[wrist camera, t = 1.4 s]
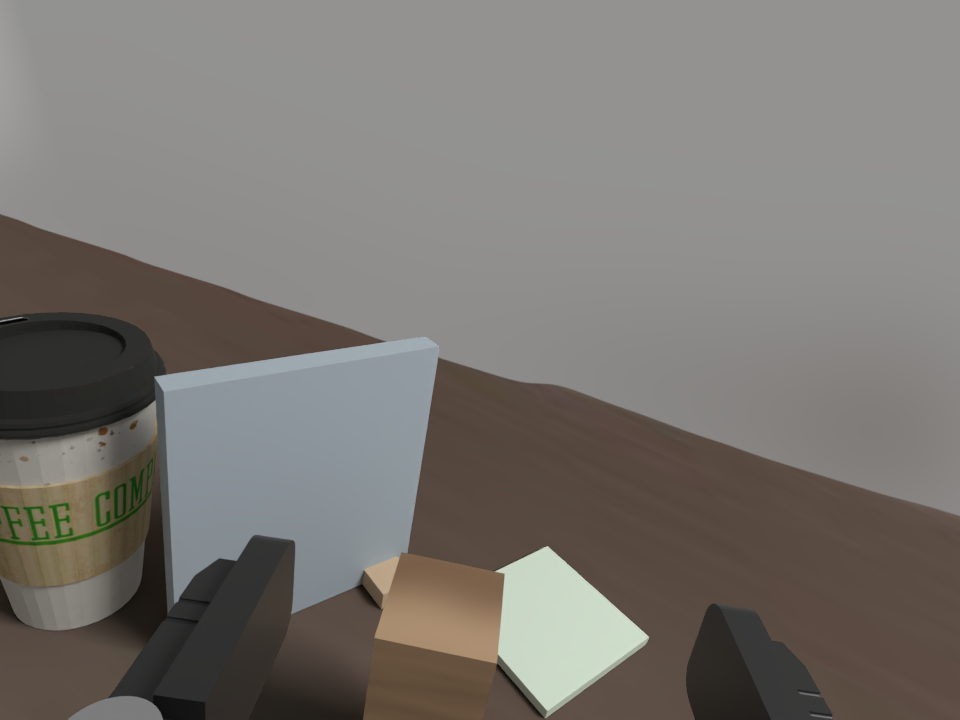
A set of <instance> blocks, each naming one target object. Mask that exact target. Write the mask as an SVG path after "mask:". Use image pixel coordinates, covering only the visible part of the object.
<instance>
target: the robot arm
mask: <svg viewBox="0 0 960 720" xmlns="http://www.w3.org/2000/svg"><path fill="white" fill-rule="evenodd" d="M294 567H295V542H294V540H289V539H282V538H275V537H268V536H262V535H254V536H253V537H252V538H251V539H250V540H249V542H248V544H247V545H246V547H245V548H244V550H243V552H242V553H241V555H240V556H239V558H238V560H237V561H235V560H228V559H221V558H219V559H217V560H216V561H214V562H213V563H212V564H210V565H209V566H207V567H206V568H205V569H203V570H202V571H200V572H199V573H197V574H196V575H195V576H194V577H193V579H192V580H191V581H190V583H189V584H188V586H187V587H186V589H185V590H184V591H183V593H182V594H181V596H180V597H179V601H178V602H176V603H175V604H174V606H173V607H172V608H171V610H170V611H169V613H168V614H167V616H166V619H165V621H162V623H161V624H160V626H159V627H158V628H157V630H156V631H155V633H154V634H153V636H152V637H151V638H150V640H149V641H148V643H147V644H146V646H145V647H144V648H143V650H142V651H141V653H140V654H139V656H138V657H137V658H136V660H135V661H134V663H133V664H132V666H131V667H130V668H129V670H128V671H127V673H126V674H125V676H124V677H123V678H122V680H121V681H120V683H119V684H118V686H117V687H116V688H115V690H114V691H113V692H112V694H111V695H110V696H109V697H108V699H105V700H101V701H98V702H96V703H94V704H91V705H89V706H87V707H86V708H84V709H82V710H80V711H79V712H77V713H76V714H74V715H73V716H72V717H70V718H69V719H68V720H249V718H250V716H251V713H252V711H253V709H254V706H255V704H256V702H257V700H258V697H259V695H260V693H261V690H262V688H263V686H264V684H265V681H266V679H267V677H268V674H269V672H270V670H271V668H272V665H273V663H274V661H275V658H276V656H277V654H278V651H279V649H280V647H281V645H282V642H283V640H284V638H285V635H286V632H287V629H288V625H289V621H290V617H291V612H292V604H293V587H294ZM686 686H687V694H688V698H689V702H690V705H691V708H692V711H693V714H694V717H695V720H833V719H832V713H831V711H830V709H829V708H828V706H827V704H826V702H825V701H824V699H823V698H821V697H820V692H819V690H818V688H817V686H816V685H815V683H814V681H813V679H812V677H811V676H810V674H809V672H808V670H807V669H806V667H805V666H804V665H803V664H802V663H801V661H800V660H799V659H798V658H797V657H796V656H795V655H794V654H793V653H792V652H791V651H790V650H789V649H788V648H787V647H786V646H785V645H784V644H783V643H782V642H776V641H772V640H771V638H770V637H769V635H768V633H767V631H766V629H765V627H764V625H763V623H762V621H761V619H760V617H759V616H758V614H757V613H756V612H755V611H754V610H752V609H747V608H741V607H734V606H727V605H720V604H711V605H710V606H709V607H708V609H707V611H706V613H705V616H704V619H703V622H702V625H701V628H700V631H699V633H698V636H697V639H696V642H695V645H694V648H693V650H692V653H691V656H690V659H689V662H688V666H687V673H686Z"/></svg>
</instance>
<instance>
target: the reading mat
mask: <svg viewBox="0 0 960 720" xmlns="http://www.w3.org/2000/svg"><path fill="white" fill-rule="evenodd" d="M495 572H499V573H504V574H505V578H504V589H503V603H502V614H501V626H500V637H499V649H498V657H497V663H498V664H499V666H500V667H501V668H502V669H503V670H504V671H505V673H506V674H507V675H508V676H509V677H510V678H511V680H512V681H513V682H514V683H515V684H516V685H517V687H518V688H519V689H520V690H521V691H522V692H523V694H524V695H525V696H526V697H527V698H528V699H529V701H530V702H531V703H532V704H533V705H534V706H535V708H536V709H537V710H538V711H539V712H540V713H541V715H542V716H543V717H544V718H546V717H548V716H549V715H551V714H552V713H553V712H555V711H556V710H557V709H559V708H560V707H561V706H563V705H564V704H566V703H567V702H568V701H570V700H571V699H572V698H574V697H575V696H576V695H578V694H579V693H581V692H582V691H583V690H585V689H586V688H587V687H589V686H590V685H591V684H593V683H594V682H595V681H597V680H598V679H600V678H601V677H602V676H604V675H605V674H606V673H608V672H609V671H610V670H612V669H613V668H615V667H616V666H617V665H619V664H620V663H621V662H623V661H624V660H625V659H627V658H628V657H629V656H631V655H632V654H634V653H635V652H636V651H638V650H639V649H640V648H642V647H643V646H644V645H646V644H647V641H648V639H649V637H648V636H647V635H646V634H645V633H644V632H643V631H642V630H641V629H639V628H638V627H637V626H636V625H635V624H634V623H633V622H632V621H630V620H629V619H628V618H627V617H626V616H625V615H624V614H623V613H622V612H620V611H619V610H618V609H617V608H616V607H615V606H614V605H613V604H611V603H610V602H609V601H608V600H607V599H606V598H605V597H604V596H603V595H601V594H600V593H599V592H598V591H597V590H596V589H595V588H594V587H592V586H591V585H590V584H589V583H588V582H587V581H586V580H585V579H584V578H582V577H581V576H580V575H579V574H578V573H577V572H576V571H575V570H573V569H572V568H571V567H570V566H569V565H568V564H567V563H566V562H565V561H563V560H562V559H561V558H560V557H559V556H558V555H557V554H556V553H554V552H553V551H552V550H551V549H550V548H549V547H548V546H547V547H545V548H543V549H541V550H539V551H537V552H534V553H532V554H530V555H528V556H526V557H524V558H522V559H520V560H518V561H516V562H514V563H512V564H510V565H508V566H506V567H503V568H501V569H499V570H497V571H495Z"/></svg>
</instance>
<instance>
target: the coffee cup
mask: <svg viewBox="0 0 960 720" xmlns="http://www.w3.org/2000/svg"><path fill="white" fill-rule="evenodd" d="M162 375H167V373H166V369H165V367H164V362H163V360H162V359H161V357H160V356H159V354H158V353H157V352H156V351H154V350H153V347H152V345H151V342H150V339H149V338H148V336H147V335H146V334H145V332H143V331H142V330H141V329H139V328H138V327H136V326H134V325H132V324H130V323H128V322H125V321H122V320H118V319H115V318H111V317H106V316H101V315H93V314H84V313H65V312H58V313H36V314H24V315H17V316H10V317H4V318H0V579H1V582H2V584H3V587H4V589H5V591H6V594H7V596H8V599H9V601H10V604H11V606H12V608H13V611H14V613H15V614H16V616H17V617H18V619H20V620H21V621H22V622H23V623H25V624H26V625H29V626H31V627H33V628H37V629H42V630H57V631H59V630H68V629H74V628H78V627H83V626H86V625H89V624H92V623H95V622H97V621H100V620H102V619H104V618H106V617H108V616H109V615H111V614H113V613H114V612H116V611H117V610H119V609H120V608H121V607H123V606H124V605H125V604H126V603H127V602H128V601H129V600H130V599H131V598H132V597H133V595H134V594H135V593H136V591H137V589H138V587H139V585H140V582H141V578H142V569H143V557H144V546H145V538H146V536H147V534H148V529H149V523H150V512H151V502H152V491H153V480H154V470H155V459H156V449H157V438H158V433H157V419H156V398H155V380H154V377H156V376H162Z"/></svg>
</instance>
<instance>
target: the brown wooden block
mask: <svg viewBox="0 0 960 720" xmlns="http://www.w3.org/2000/svg"><path fill="white" fill-rule="evenodd" d="M504 578H505V574H504V573H499V572H495V571H490V570H485V569H480V568H475V567H470V566H466V565H461V564H456V563H451V562H446V561H441V560H437V559H432V558H427V557H422V556H417V555H412V554H408V553H403V552H401V555H400V558H399V561H398V565H397V568H396V571H395V574H394V577H393V580H392V584H391V587H390V590H389V593H388V596H387V599H386V603H385V606H384V609H383V612H382V615H381V619H380V622H379V625H378V628H377V631H376V634H375V638H374V644H373V651H372V659H371V666H370V673H369V680H368V687H367V694H366V701H365V709H364V716H363V720H482V719H483V715H484V711H485V707H486V703H487V700H488V696H489V692H490V688H491V684H492V681H493V677H494V673H495V669H496V665H497V657H498V649H499V637H500V626H501V614H502V603H503V589H504Z"/></svg>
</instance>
